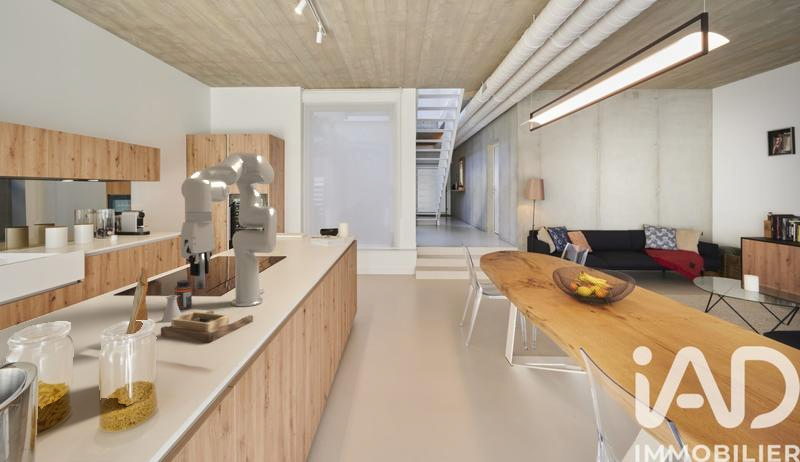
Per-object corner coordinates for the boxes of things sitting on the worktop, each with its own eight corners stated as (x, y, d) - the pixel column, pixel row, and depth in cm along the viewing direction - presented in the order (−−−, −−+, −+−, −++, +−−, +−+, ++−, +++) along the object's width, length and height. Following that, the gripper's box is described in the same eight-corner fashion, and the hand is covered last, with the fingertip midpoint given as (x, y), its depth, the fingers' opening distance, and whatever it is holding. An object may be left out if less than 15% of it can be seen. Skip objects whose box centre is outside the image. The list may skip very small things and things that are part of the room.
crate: (193, 325, 126) (193, 311, 126) (228, 330, 123) (228, 315, 122) (171, 334, 117) (171, 319, 117) (208, 339, 114) (208, 324, 114)
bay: (210, 320, 136) (210, 309, 136) (253, 325, 132) (253, 314, 132) (161, 340, 116) (160, 327, 116) (209, 347, 112) (209, 334, 111)
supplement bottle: (171, 309, 149) (170, 281, 148) (184, 305, 154) (184, 278, 153) (181, 311, 146) (181, 283, 145) (195, 307, 152) (194, 280, 151)
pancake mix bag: (159, 369, 97) (156, 265, 95) (149, 406, 80) (145, 280, 78) (128, 374, 94) (124, 266, 92) (110, 413, 77) (105, 282, 75)
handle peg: (199, 286, 121) (199, 247, 120) (207, 287, 120) (206, 248, 119) (192, 288, 118) (191, 248, 117) (200, 289, 117) (199, 249, 116)
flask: (173, 327, 128) (172, 299, 127) (155, 325, 129) (154, 298, 128) (189, 321, 135) (188, 294, 134) (172, 319, 136) (171, 293, 136)
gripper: (207, 216, 126) (208, 269, 127) (167, 218, 110) (168, 278, 112) (226, 217, 124) (227, 270, 126) (187, 219, 108) (189, 280, 110)
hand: (199, 274), depth 119 cm, fingers closed on handle peg, 3 cm apart
